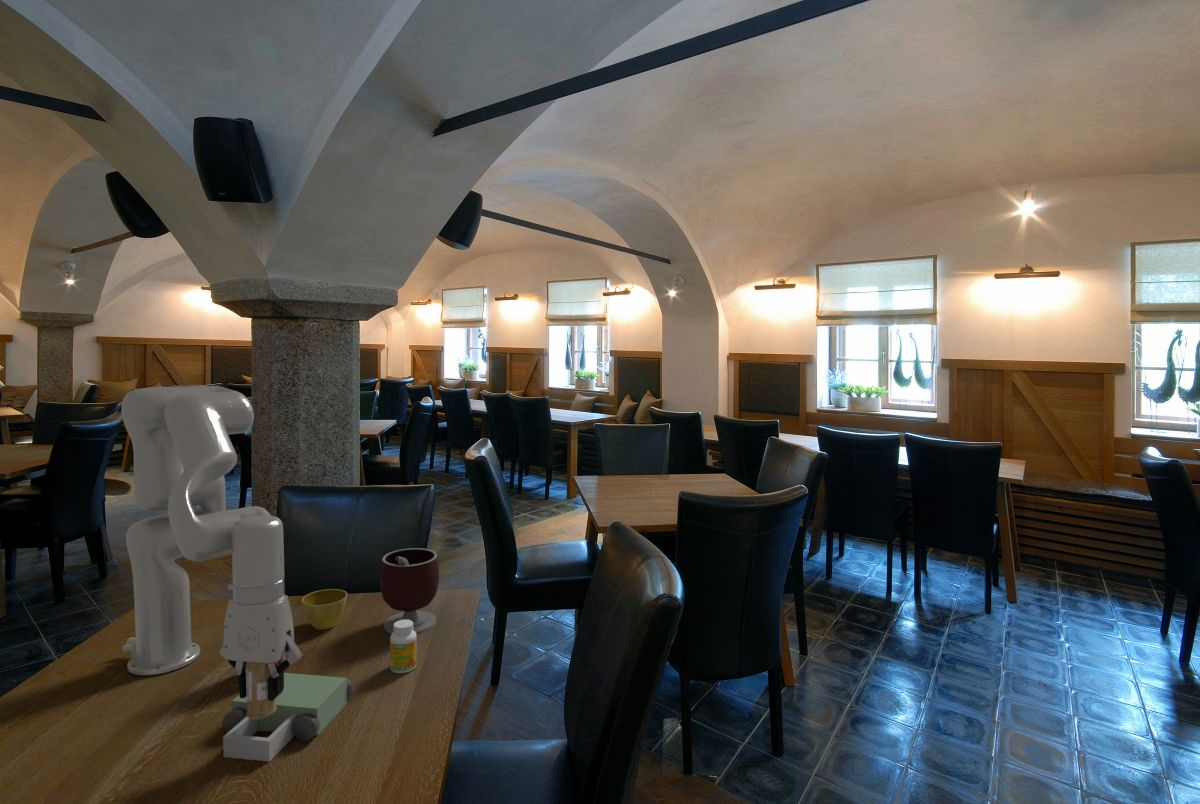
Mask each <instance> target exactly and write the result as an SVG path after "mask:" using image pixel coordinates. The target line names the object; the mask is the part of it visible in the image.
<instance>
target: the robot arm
mask: <svg viewBox="0 0 1200 804" xmlns="http://www.w3.org/2000/svg"><path fill="white" fill-rule="evenodd" d="M121 416H122V422H123V424H124V427H125V429H126V432H127V434H128V436H129V438H130V440H131V444H132V451H133V482H134V484H133V485H134V486H133V488H134V489H133V490H134V499H135V502H136V505H137V506H138V507H139V509H141V510H142V511H146V512H158V511H167V513H165V514H159V515H154V516H150V517H145V518H143V519H140V520H138V521H137V522H134V523H133V524H131V526H129V528H128V529H127V530H126V535H125V542H126V543H125V544H126V549H127V552H128V556H129V560H130V564H131V565H130V566H131V572H132V581H133V597H134V598H133V599H134V600H133V601H134V620H135V622H134V625H135V626H134V628H135V636H134V637H133V636H131V637H128V639H127V640H126V643H125V644H124V645H123V646H122V648H121V650H122V652H131V655H132V656H131V658H130V659H129V660H128V662H127V665H126V666H127V671H128V672H129V673H131V674H133V675H136V676H153V675H154V676H155V675H160V674H161V675H162V674H165V673H169V672H172V671H173V672H174V671H176V670H178V669H180V668H183V667H185V666H187V665H189V664H191V663H192V662H194V661H195V660H196V659H197V658H198V657H199V656H200V654H201V647H200V645H199V644H198V643H196V642H192V631H191V630H192V626H191V625H192V622H191V598H190V597H191V595H190V594H191V593H190V592H191V591H190V578H189V574H188V572H187V571H186V570H185V569H184V568H183V567H181V566H180V565H178V564H177V563H176V562H175V560H176V559H177V560H178V559H180V558H183V557H184V558H185V559H186V560H188V561H192V562H204V561H207V560H208V561H209V560H212V559H216V558H221V557H226V556H229V555H231V565H232V568H231V569H232V570H231V571H232V581H230V582H229V583H228V584H227V590H228V591H232V598H231V599H230V600H229V601H228V603H227V606H226V612H225V617H224V623H223V625H224V626H223V635H222V637H223V638H222V639H223V640H222V647H221V648H220V649H219V655H220V656H221V657H222V658H224V659H225V660H226V661H228V664H229V665H231V666H232V668H233V669H234V674H235V675H236V676H238V690H239V695H240V698H245V697H246V696H247V695H246V662H252V663H267V664H268V666H269V670H270V674H271V676H270V677H269V678H268V680H267V683H268V700H269V701H273V700H274V699H275V698H276V697H277V696H278V695H280V694H281V693H282V692H283V689H284V673H285V671H286V670H287V669H288V668H289V667H290V666H291V665H293V664H295V663H296V662H298V661H299V660H300V659H301V658H302V657H303V653H302V651H301V650H300V648H299V647H298V646H297V644H296V642H295V632H294V631H295V630H294V620H293V619H294V618H293V612H292V607H291V604H290V600H289V596H288V595H287V594H285V591H286V590H285V555H284V554H285V552H284V551H285V550H284V549H285V548H284V547H285V546H284V524H283V521H282V520H281V519H280V518H279V517H277V516H275V515H271V513H270V512H268V510H266V508H264V507H262V506H258V505H257V506H256V505H254V506H253V505H252V506H247V507H246V506H245V507H241V508H236V509H228V510H226V507H227V506H226V505H227V504H226V503H227V502H226V500H227V499H226V498H227V497H226V495H227V494H226V478H225V475H227V474H228V473H229V472H231V471H232V470H233V469H234V467H236V464H237V462H238V456H237V452H236V449H235V448H234V446H233V443H232V441H231V439H230V436H229V435H237V434H244V433H247V432H248V431H249V430H251V429H252V426H253V423H254V420H255V413H254V409H253V406H252V404H251V402H250V400H249V399H248V397H246V396H245V395H244V394H243V393H242V392H239V391H238V390H237V391H236V390H233V389H230V388H227V387H223V386H219V385H199V386H198V385H188V386H154V387H152V386H151V387H142V388H137V389H134V390H131V391H130V392H127V393H126V394H125V395H124V397H123V399H122V402H121ZM193 506H196V509H193ZM285 653H286V655H288V657H286V655H285ZM277 662H278V666H277ZM231 666H230V667H231Z"/></svg>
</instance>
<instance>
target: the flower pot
mask: <svg viewBox="0 0 1200 804" xmlns="http://www.w3.org/2000/svg"><path fill="white" fill-rule="evenodd" d="M347 598H348V592H347V591H345V590H343V589H337V588H333V589H332V588H330V589H329V588H328V589H321V590H316V591H313V592H310V593H308V594H306V595H304V596H303V597H302V598H301V603H302V608H303V611H304V614H305V616H306V618H307V619H308V621H309V623H310V624H311V626H312V627H313V628H314V629H315V630H322V631H323V630H328V629H333V627H335V626H336V625H337V624H338V622H339V621H340V619H341V618H342V615H343V613H344V610H345V608H346V604H347V600H348V599H347Z"/></svg>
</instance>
